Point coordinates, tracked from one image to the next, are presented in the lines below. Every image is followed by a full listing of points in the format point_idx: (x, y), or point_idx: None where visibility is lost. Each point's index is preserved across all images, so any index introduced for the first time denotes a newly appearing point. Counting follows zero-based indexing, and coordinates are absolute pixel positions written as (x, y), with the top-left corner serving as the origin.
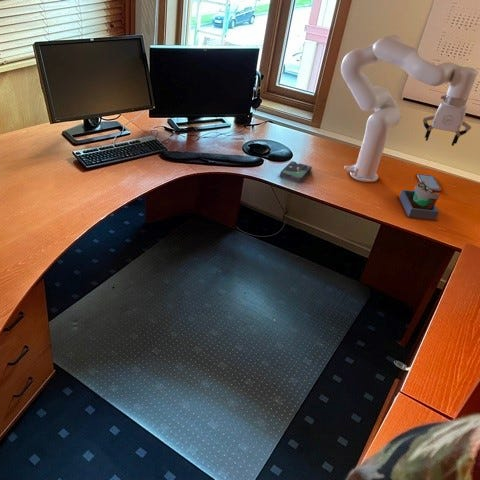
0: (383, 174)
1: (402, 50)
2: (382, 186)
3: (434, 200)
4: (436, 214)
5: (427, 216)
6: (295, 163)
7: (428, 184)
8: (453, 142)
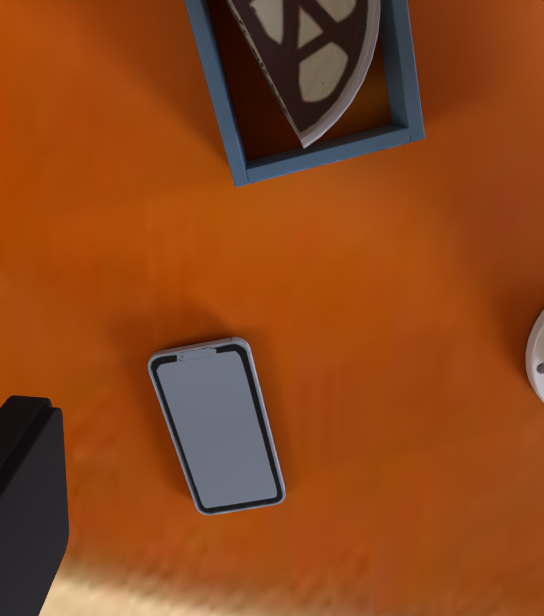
0: (478, 423)
1: None
2: (504, 254)
3: None
4: None
5: None
6: None
7: (222, 394)
8: (2, 450)
